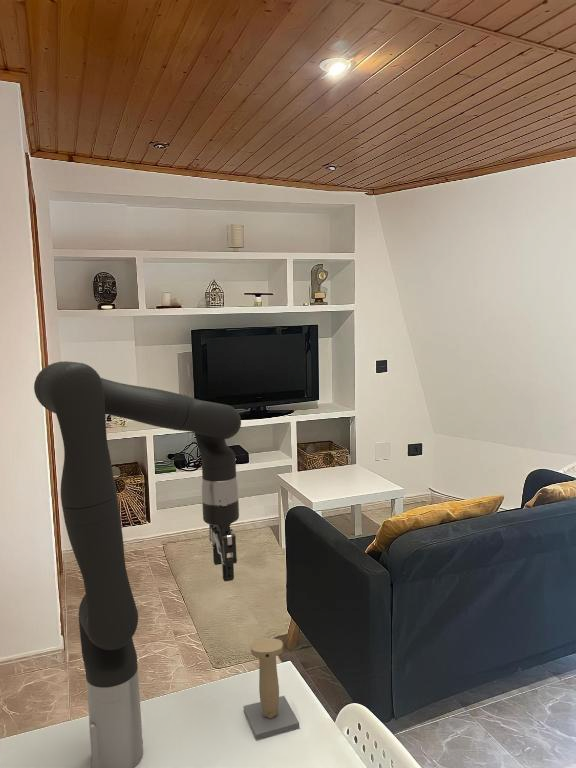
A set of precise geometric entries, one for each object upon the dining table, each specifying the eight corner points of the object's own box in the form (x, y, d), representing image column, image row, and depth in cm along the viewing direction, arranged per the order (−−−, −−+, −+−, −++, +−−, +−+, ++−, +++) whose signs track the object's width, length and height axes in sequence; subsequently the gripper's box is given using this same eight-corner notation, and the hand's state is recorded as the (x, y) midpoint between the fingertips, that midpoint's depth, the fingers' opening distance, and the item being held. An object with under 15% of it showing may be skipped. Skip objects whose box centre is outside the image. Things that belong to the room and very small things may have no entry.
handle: (286, 720, 118) (283, 650, 116) (254, 723, 118) (250, 653, 116) (285, 704, 123) (282, 637, 121) (254, 707, 122) (250, 639, 120)
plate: (256, 740, 115) (255, 734, 114) (243, 711, 123) (243, 706, 123) (299, 728, 118) (299, 722, 117) (284, 700, 126) (284, 695, 126)
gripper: (195, 490, 128) (199, 561, 130) (209, 510, 115) (213, 589, 117) (229, 486, 131) (232, 556, 133) (246, 505, 118) (249, 582, 120)
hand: (223, 571), depth 125 cm, fingers open, 8 cm apart
